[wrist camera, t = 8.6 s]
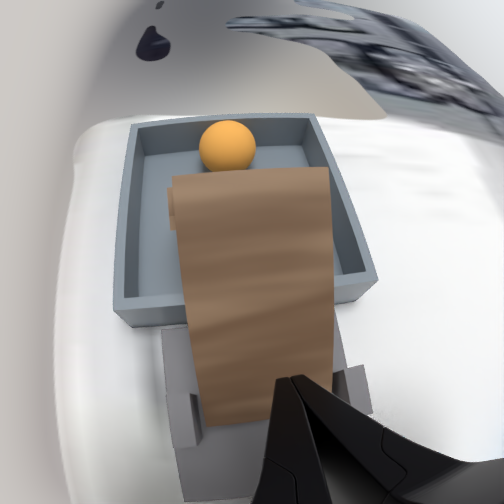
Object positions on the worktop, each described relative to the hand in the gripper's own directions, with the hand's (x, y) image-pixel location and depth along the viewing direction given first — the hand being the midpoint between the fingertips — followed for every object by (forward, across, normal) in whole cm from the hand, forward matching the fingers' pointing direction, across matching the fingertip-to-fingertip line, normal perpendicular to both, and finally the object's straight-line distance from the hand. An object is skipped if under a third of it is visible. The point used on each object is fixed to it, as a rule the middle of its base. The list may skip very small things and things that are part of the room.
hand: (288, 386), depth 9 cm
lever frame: (+6, 0, +6) cm, 9 cm away
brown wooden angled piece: (+7, 0, +5) cm, 9 cm away
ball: (+15, 0, -7) cm, 17 cm away
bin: (+14, 0, -3) cm, 14 cm away
